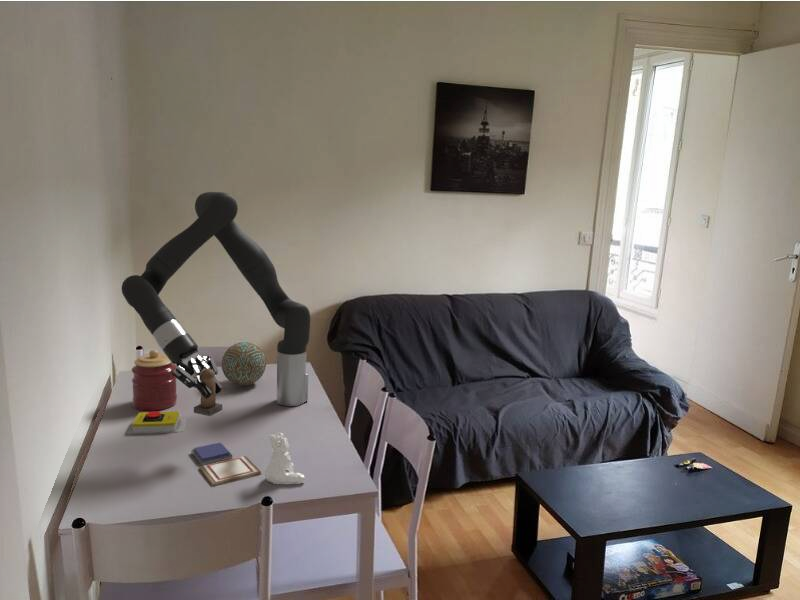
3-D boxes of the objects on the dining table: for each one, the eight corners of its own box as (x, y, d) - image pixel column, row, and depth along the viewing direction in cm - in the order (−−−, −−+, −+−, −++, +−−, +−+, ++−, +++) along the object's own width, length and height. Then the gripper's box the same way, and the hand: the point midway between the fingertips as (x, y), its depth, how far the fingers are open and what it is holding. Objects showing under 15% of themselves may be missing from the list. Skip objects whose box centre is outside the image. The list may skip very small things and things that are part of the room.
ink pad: (221, 446, 164) (221, 441, 163) (232, 458, 157) (232, 452, 157) (191, 453, 159) (191, 447, 159) (201, 465, 153) (201, 459, 152)
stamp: (206, 406, 159) (206, 365, 157) (222, 409, 158) (222, 368, 156) (193, 412, 155) (193, 370, 153) (210, 416, 153) (209, 373, 151)
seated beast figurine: (307, 484, 146) (308, 437, 144) (273, 492, 142) (273, 444, 139) (291, 467, 154) (292, 423, 152) (258, 475, 149) (258, 429, 147)
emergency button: (133, 408, 177) (187, 406, 180) (133, 422, 178) (187, 420, 181) (125, 420, 168) (182, 419, 171) (126, 435, 169) (183, 433, 172)
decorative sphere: (266, 390, 208) (266, 348, 205) (220, 392, 204) (220, 349, 201) (265, 376, 222) (265, 337, 219) (222, 378, 218) (222, 337, 216)
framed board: (245, 458, 158) (245, 454, 158) (261, 474, 150) (261, 470, 150) (199, 468, 151) (199, 465, 151) (212, 486, 143) (212, 482, 143)
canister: (150, 415, 182) (148, 358, 179) (123, 405, 189) (121, 350, 186) (186, 402, 193) (185, 349, 190) (159, 393, 200) (158, 342, 197)
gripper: (163, 338, 148) (205, 394, 147) (201, 327, 162) (240, 378, 160) (147, 356, 151) (188, 411, 150) (185, 343, 164) (223, 393, 163)
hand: (214, 393), depth 155 cm, fingers closed on stamp, 3 cm apart
